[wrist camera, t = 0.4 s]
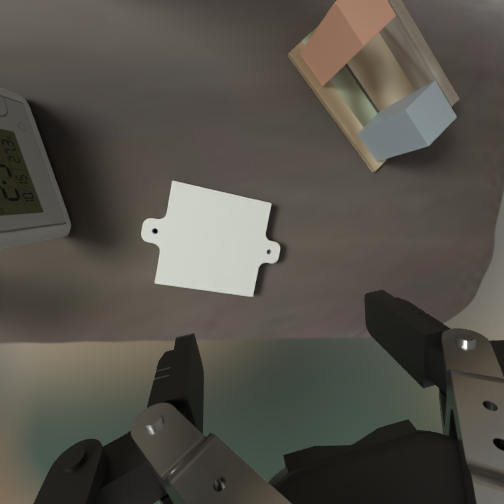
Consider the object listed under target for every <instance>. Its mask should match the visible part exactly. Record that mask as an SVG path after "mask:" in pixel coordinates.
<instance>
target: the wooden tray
mask: <svg viewBox="0 0 504 504" xmlns="http://www.w3.org/2000/svg"><path fill="white" fill-rule="evenodd" d="M387 1H388V3H389V4H390V6H391V8H392V9H393V11H394V13H395V14H396V16H395V17H394V18H393V19H392V20H391V21H390V22H389V23H388V24H387V25H386V26H385V27H384V28H383V29H382V30H381V31H380V32H379V33H378V34H376V35H375V36H374V37H373V38H372V39H371V40H370V41H369V42H368V43H367V44H366V45H365V46H364V47H363V48H362V49H361V50H360V51H359V52H358V53H357V54H356V55H355V56H354V57H353V58H352V59H351V60H350V61H349V62H348V63H347V64H346V65H345V66H343V67H342V68H341V69H340V70H339V71H338V72H337V73H336V74H335V75H334V76H333V77H332V78H331V79H330V80H329V81H328V82H327V83H326V84H325V85H324V86H322V85H321V83H320V82H319V80H318V79H317V78H316V76H315V75H314V74H313V72H312V71H311V69H310V68H309V67H308V65H307V64H306V62H305V61H304V60H303V58H302V57H301V55H300V52H301V51H302V49H303V48H304V46H305V45H306V44H307V42H308V41H309V39H310V38H311V36H312V35H313V33H314V32H315V30H316V29H317V27H318V26H319V25H318V26H317V27H316V28H315V29H314V30H313V31H312V32H311V33H310V34H308V35H307V36H306V37H305V38H304V39H303V40H302V41H301V42H300V43H299V44H298V45H297V46H296V47H295V48H294V49H292V50H291V51H290V52H289V53H288V55H287V56H288V58H289V59H290V60H291V62H292V63H293V65H294V66H295V67H296V69H297V70H298V71H299V73H300V74H301V75H302V77H303V78H304V80H305V81H306V82H307V84H308V85H309V86H310V88H311V89H312V90H313V92H314V93H315V95H316V96H317V97H318V99H319V100H320V101H321V103H322V104H323V105H324V107H325V108H326V110H327V111H328V112H329V114H330V115H331V116H332V118H333V119H334V120H335V122H336V123H337V125H338V126H339V127H340V129H341V130H342V131H343V133H344V134H345V135H346V137H347V138H348V140H349V141H350V142H351V144H352V145H353V146H354V148H355V149H356V150H357V152H358V153H359V155H360V156H361V157H362V159H363V160H364V161H365V163H366V164H367V165H368V167H369V168H370V170H371V171H372V172H375V171H376V170H377V169H378V168H379V167H380V166H381V165H382V164H383V163H384V162H385V161H386V160H387V159H388V158H387V159H384V160H380V161H376V160H375V158H374V157H373V156H372V154H371V153H370V151H369V150H368V149H367V147H366V146H365V144H364V143H363V142H362V140H361V139H360V137H359V136H358V135H357V134H358V133H359V132H360V131H361V130H362V129H363V128H364V127H365V126H366V125H367V124H368V123H369V122H370V121H371V120H372V119H373V118H374V117H375V116H376V115H377V114H378V113H379V112H380V111H381V110H383V109H384V108H386V107H388V106H390V105H392V104H393V103H395V102H397V101H399V100H401V99H403V98H404V97H406V96H408V95H410V94H412V93H413V92H415V91H417V90H419V89H421V88H422V87H424V86H426V85H428V84H430V83H431V82H433V81H436V83H437V84H438V86H439V88H440V89H441V91H442V93H443V94H444V96H445V98H446V99H447V101H448V103H449V104H450V106H451V107H452V106H453V105H454V104H455V103H456V102H457V101H458V100H459V98H458V96H457V94H456V92H455V91H454V89H453V87H452V86H451V84H450V82H449V80H448V79H447V77H446V75H445V74H444V72H443V70H442V68H441V67H440V65H439V63H438V62H437V60H436V58H435V56H434V55H433V53H432V51H431V50H430V48H429V46H428V45H427V43H426V41H425V39H424V38H423V36H422V34H421V33H420V31H419V29H418V27H417V26H416V24H415V22H414V21H413V19H412V17H411V15H410V14H409V12H408V10H407V9H406V7H405V5H404V3H403V2H402V0H387Z"/></svg>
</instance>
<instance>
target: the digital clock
mask: <svg viewBox="0 0 504 504" xmlns="http://www.w3.org/2000/svg"><path fill="white" fill-rule="evenodd" d="M70 229H71V223H70V219H69V216H68V213H67V210H66V207H65V204H64V202H63V199H62V196H61V193H60V190H59V187H58V185H57V182H56V179H55V176H54V173H53V171H52V168H51V165H50V162H49V159H48V156H47V154H46V151H45V148H44V145H43V142H42V139H41V137H40V134H39V131H38V128H37V125H36V123H35V120H34V117H33V115H32V112H31V109H30V107H29V105H28V103H27V101H26V100H25V99H24V98H23V97H21V96H19V95H17V94H15V93H13V92H11V91H8V90H5V89H3V88H0V250H2V249H7V248H12V247H17V246H22V245H27V244H32V243H37V242H42V241H47V240H53V239H58V238H62V237H66V236H67V235H68V234H69V232H70Z"/></svg>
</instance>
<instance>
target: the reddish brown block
mask: <svg viewBox="0 0 504 504" xmlns="http://www.w3.org/2000/svg"><path fill="white" fill-rule="evenodd" d="M395 16H396V14H395V13H394V11H393V9H392V8H391V6H390V4H389V3H388V1H387V0H336V1H335V2H334V4H333V5H332V7H331V8H330V10H329V11H328V13H327V14H326V16H325V17H324V19H323V20H322V21H321V23H320V24H319V26H318V27H317V29H316V30H315V32H314V33H313V35H312V36H311V38H310V39H309V41H308V42H307V44H306V45H305V46H304V48H303V49H302V51H301V52H300V55H301V57H302V58H303V60H304V61H305V62H306V64H307V65H308V67H309V68H310V69H311V71H312V72H313V74H314V75H315V76H316V78H317V79H318V80H319V82H320V83H321V85H322V86H324V85H325V84H326V83H327V82H328V81H329V80H330V79H331V78H332V77H333V76H334V75H335V74H336V73H337V72H338V71H339V70H340V69H341V68H342V67H343V66H345V65H346V64H347V63H348V62H349V61H350V60H351V59H352V58H353V57H354V56H355V55H356V54H357V53H358V52H359V51H360V50H361V49H362V48H363V47H364V46H365V45H366V44H367V43H368V42H369V41H370V40H371V39H372V38H373V37H374V36H375V35H376V34H378V33H379V32H380V31H381V30H382V29H383V28H384V27H385V26H386V25H387V24H388V23H389V22H390V21H391V20H392V19H393V18H394V17H395Z"/></svg>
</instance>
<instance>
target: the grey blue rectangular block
mask: <svg viewBox="0 0 504 504" xmlns="http://www.w3.org/2000/svg"><path fill="white" fill-rule="evenodd" d="M456 118H457V116H456V115H455V113H454V111H453V109H452V108H451V106H450V104H449V103H448V101H447V99H446V98H445V96H444V94H443V93H442V91H441V89H440V88H439V86H438V84H437V83H436V81H433V82H431V83H430V84H428V85H426V86H424V87H422V88H421V89H419V90H417V91H415V92H413V93H412V94H410V95H408V96H406V97H404V98H403V99H401V100H399V101H397V102H395V103H393V104H392V105H390V106H388V107H386V108H384V109H383V110H381V111H380V112H379V113H378V114H377V115H376V116H375V117H374V118H373V119H372V120H371V121H370V122H369V123H368V124H367V125H366V126H365V127H364V128H363V129H362V130H361V131H360V132H359V133H358V134H357V135H358V136H359V137H360V139H361V140H362V142H363V143H364V144H365V146H366V147H367V149H368V150H369V151H370V153H371V154H372V156H373V157H374V158H375V160H376V161H380V160H384V159H387V158H390V157H394V156H397V155H401V154H404V153H407V152H411V151H414V150H417V149H421V148H424V147H428V146H429V145H430V144H431V143H432V142H433V141H434V140H435V139H436V138H437V137H438V136H439V135H440V134H441V133H442V132H443V131H444V130H445V129H446V128H447V127H448V126H449V125H450V124H451V123H452V122H453V121H454V120H455V119H456Z"/></svg>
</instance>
